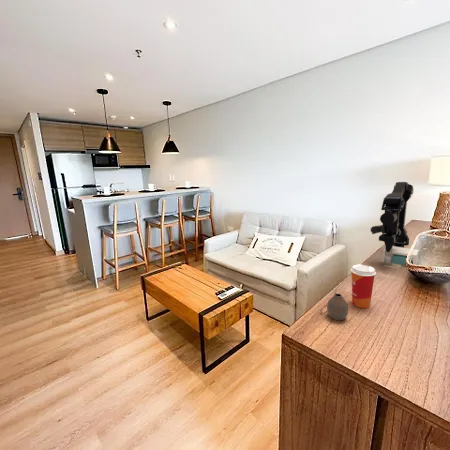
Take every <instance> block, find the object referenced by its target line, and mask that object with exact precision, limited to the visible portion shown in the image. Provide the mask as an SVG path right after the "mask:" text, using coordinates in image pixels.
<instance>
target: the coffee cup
mask: <svg viewBox="0 0 450 450" xmlns="http://www.w3.org/2000/svg"><path fill="white" fill-rule="evenodd" d="M350 272H351V304H352V305H353V306H355V307H356V308H359V309H368V308H370V307H371V301H372V295H373V288H374V282H375V275H376V274H377V272H376V269H375V268H374V267H372V266H370V265H365V264H360V263H359V264H353V265H352V268H350Z"/></svg>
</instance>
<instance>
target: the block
mask: <svg viewBox="0 0 450 450" xmlns="http://www.w3.org/2000/svg"><path fill="white" fill-rule="evenodd" d="M406 258H407V256H405V255H398V254H392V262H391V263H396V264H402V265H401V266H404V265H406Z"/></svg>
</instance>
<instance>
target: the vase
mask: <svg viewBox="0 0 450 450" xmlns="http://www.w3.org/2000/svg"><path fill="white" fill-rule="evenodd" d="M326 311H327V314H328V315H329V317H330V318H331V319H333V320H334V319H335V321H343V320H346V318H347V316H348V315H349V304H348V302H347V301H346V299H345V298H344V297H343V295H342V294H341V293H338V292H337V293H334V294H333V295H332V297H331V298H329V300H328V302H327V304H326Z"/></svg>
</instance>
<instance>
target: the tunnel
mask: <svg viewBox="0 0 450 450" xmlns="http://www.w3.org/2000/svg"><path fill="white" fill-rule="evenodd" d="M410 249H411V248H407V247H404V248H402V247H394V246H393V248H392V255H393V254H398V255H405V256H407V255H408V253H409V251H410ZM419 253H420V251H419V249H414V250H413V252H412V254H411V256H410V257H412V258H413V261H412V265H413V264H416V265H418V261H419V260H418V259H419ZM384 257H385V247H384V249H383V250H382V256H381V263H384Z"/></svg>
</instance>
